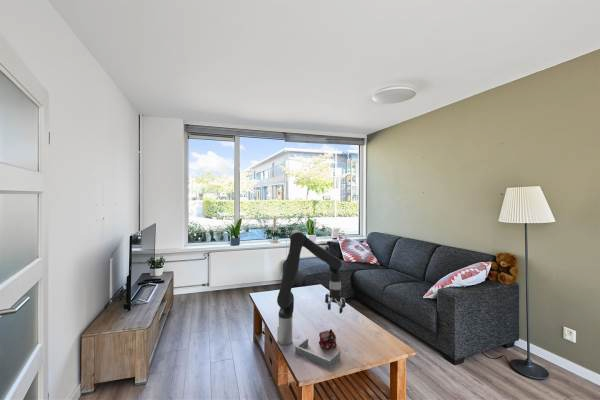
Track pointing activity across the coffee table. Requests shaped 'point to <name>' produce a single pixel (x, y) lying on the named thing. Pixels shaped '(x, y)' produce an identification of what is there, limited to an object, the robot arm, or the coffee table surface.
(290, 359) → the coffee table surface
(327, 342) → the toy fire truck
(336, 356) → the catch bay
